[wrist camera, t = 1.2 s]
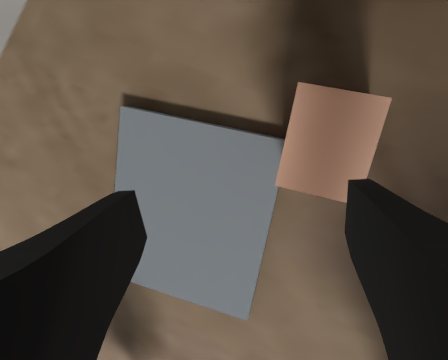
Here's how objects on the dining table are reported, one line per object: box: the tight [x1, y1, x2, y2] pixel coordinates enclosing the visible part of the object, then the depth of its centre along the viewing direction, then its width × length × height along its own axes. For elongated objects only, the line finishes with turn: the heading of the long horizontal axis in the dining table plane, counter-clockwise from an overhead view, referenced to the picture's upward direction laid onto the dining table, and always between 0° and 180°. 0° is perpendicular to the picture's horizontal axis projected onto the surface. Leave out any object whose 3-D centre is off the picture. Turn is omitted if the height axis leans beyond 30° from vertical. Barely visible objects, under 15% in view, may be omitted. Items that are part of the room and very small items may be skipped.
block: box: [275, 82, 392, 203], centre depth 18 cm, size 4×5×6 cm
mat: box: [115, 106, 285, 321], centre depth 24 cm, size 12×14×1 cm
